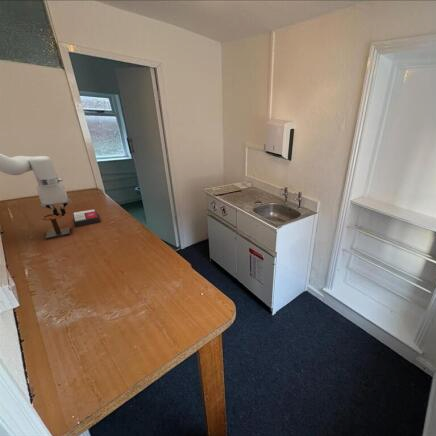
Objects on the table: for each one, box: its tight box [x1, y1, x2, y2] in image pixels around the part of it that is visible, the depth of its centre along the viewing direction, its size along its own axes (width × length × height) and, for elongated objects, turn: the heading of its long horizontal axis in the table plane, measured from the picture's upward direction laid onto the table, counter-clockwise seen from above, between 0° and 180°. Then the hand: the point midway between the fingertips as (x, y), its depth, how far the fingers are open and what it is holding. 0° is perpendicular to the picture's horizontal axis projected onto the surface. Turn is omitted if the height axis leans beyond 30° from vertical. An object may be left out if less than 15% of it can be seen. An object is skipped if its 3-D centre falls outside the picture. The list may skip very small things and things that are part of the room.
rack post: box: [45, 215, 71, 240], centre depth 123 cm, size 9×9×10 cm
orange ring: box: [41, 212, 63, 221], centre depth 121 cm, size 8×8×1 cm
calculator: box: [72, 208, 100, 227], centre depth 141 cm, size 11×4×15 cm
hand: (60, 215), depth 123 cm, fingers closed on orange ring, 1 cm apart
